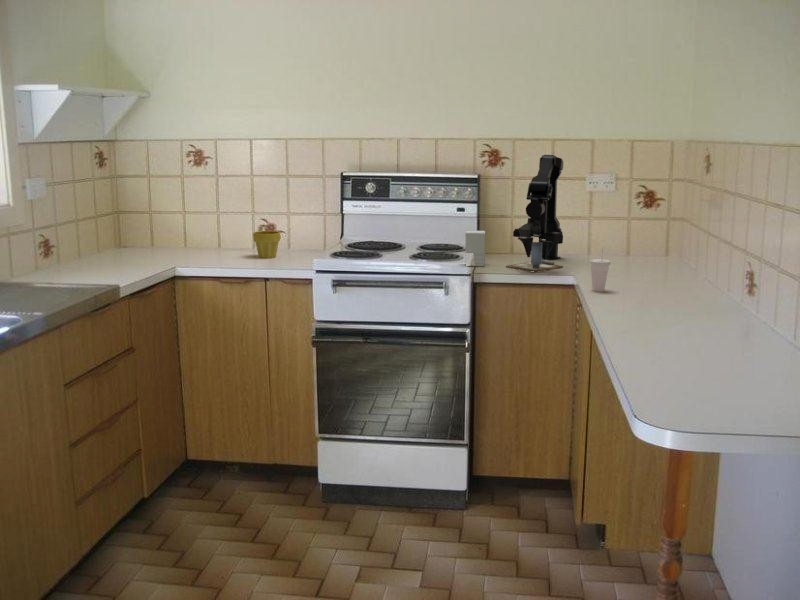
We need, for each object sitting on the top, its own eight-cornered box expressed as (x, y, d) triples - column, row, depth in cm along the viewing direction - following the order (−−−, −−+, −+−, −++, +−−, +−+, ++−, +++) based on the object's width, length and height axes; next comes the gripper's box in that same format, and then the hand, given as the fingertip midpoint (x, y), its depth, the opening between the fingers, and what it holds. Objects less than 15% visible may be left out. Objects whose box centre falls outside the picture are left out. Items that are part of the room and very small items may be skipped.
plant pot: (259, 259, 319) (258, 234, 317) (250, 256, 328) (249, 231, 326) (284, 258, 324) (284, 233, 322) (274, 254, 333) (274, 230, 331)
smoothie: (597, 293, 262) (599, 249, 259) (583, 289, 268) (586, 246, 265) (612, 291, 265) (615, 247, 262) (599, 288, 271) (602, 245, 268)
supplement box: (484, 263, 316) (485, 230, 314) (484, 266, 309) (485, 232, 306) (465, 263, 317) (465, 230, 314) (464, 266, 310) (465, 232, 307)
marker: (535, 266, 305) (536, 241, 304) (543, 268, 303) (544, 242, 301) (528, 268, 303) (529, 242, 301) (536, 269, 300) (537, 243, 298)
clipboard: (533, 262, 319) (533, 259, 319) (562, 267, 309) (563, 264, 309) (505, 267, 308) (505, 263, 308) (535, 272, 298) (535, 268, 298)
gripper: (504, 214, 300) (502, 257, 304) (545, 219, 287) (543, 264, 290) (523, 212, 308) (522, 254, 311) (565, 217, 294) (562, 260, 297)
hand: (536, 258), depth 302 cm, fingers open, 7 cm apart
